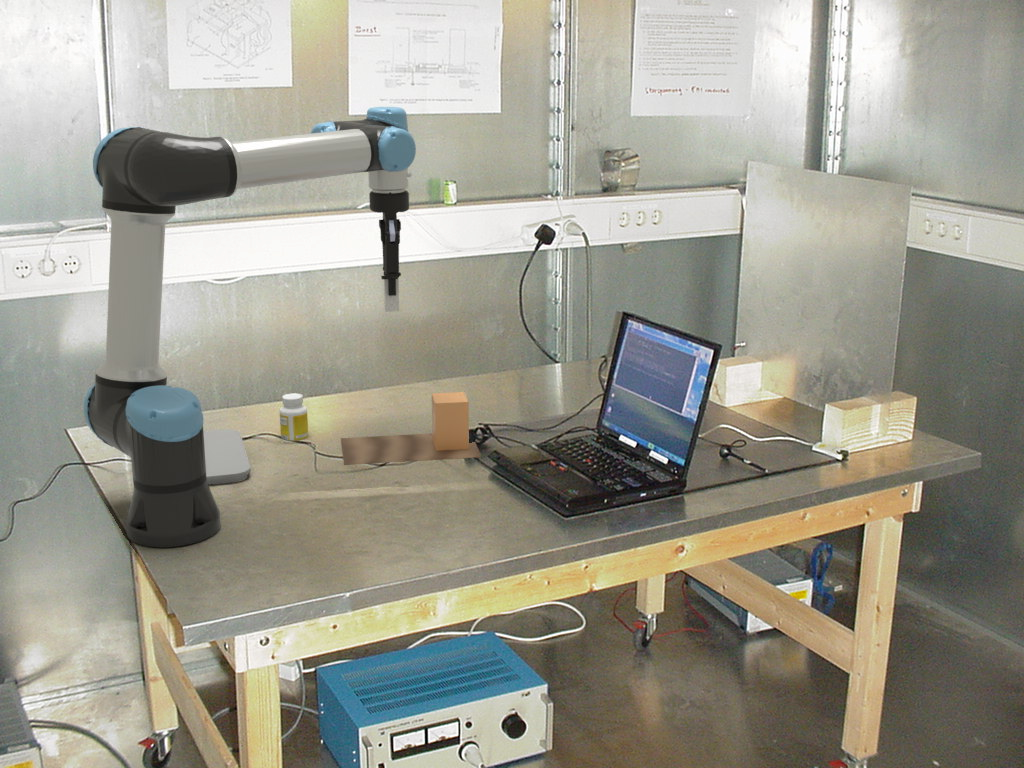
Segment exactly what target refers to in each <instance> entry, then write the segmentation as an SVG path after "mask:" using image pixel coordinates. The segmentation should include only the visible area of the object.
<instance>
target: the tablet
mask: <svg viewBox="0 0 1024 768" xmlns="http://www.w3.org/2000/svg"><path fill="white" fill-rule="evenodd" d="M203 432H204V447H205V462H206V478H207V484H209V485H208V486H212V485H211V484H213V485H219V484H218V483H222V484H228V483H230V482H232V483H238V482H243V481H244V479H245V480H246V479H248V474H250V472H251V464H250V460H249V458H248V455H247V451H246V447H245V444H244V441H243V438H242V435H241V432H240V431H239V430H237V429H231V428H223V429H222V428H220V429H212V430H211V429H210V430H203Z"/></svg>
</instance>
